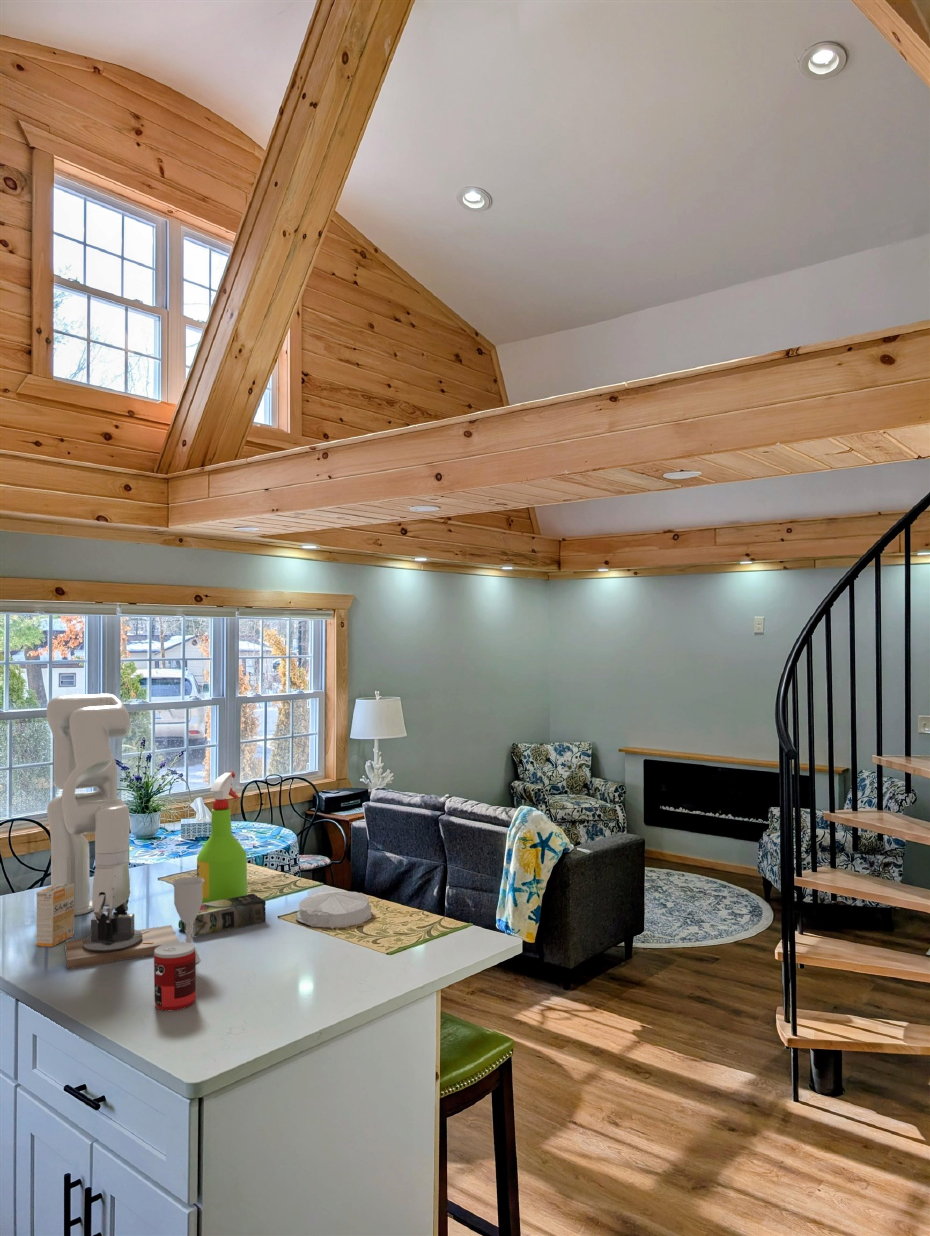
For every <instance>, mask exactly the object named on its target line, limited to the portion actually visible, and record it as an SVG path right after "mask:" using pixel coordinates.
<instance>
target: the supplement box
mask: <svg viewBox="0 0 930 1236" xmlns="http://www.w3.org/2000/svg"><path fill="white" fill-rule="evenodd" d="M74 922H75V916H74V884H70V883H58V884H56V885H54V886H51V885H50V886H48V887H46V888H44V889H41V890H37V891H36V927H35V928H36V931H35V932H36V936H35V938H36V941H35V942H36V946H37V947H48V948H49V947H50V948H51V947H52V948H53V947H55V946H56V945H58V944H60V943H62V942H63V941H65V940H66V941H67V940H68V939H70V938H72V937H74V935H75V934H74V933H75V923H74Z"/></svg>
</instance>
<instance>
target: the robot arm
mask: <svg viewBox="0 0 930 1236" xmlns="http://www.w3.org/2000/svg"><path fill="white" fill-rule="evenodd" d="M46 718H47V719H46V720H47V723H48V726H49V729H50V731H51V734H52V737H53V743H54V744H53V780H54V785H55V786H56V787H57V788H58V789H60V790H62V791H61V795H58V796H55V797H53V798H52V799H51V800H50V801H49V803H48V805H47V810H46V814H47V815H46V816H47V820H48V827H49V832H50V833H49V834H50V865H51V866H50V876H51V877H50V881H51V882H50V887H51V886H54V885H56V884H58V883H70V884H74V917H76V916H81V915H85V914H87V913H90V912H93V914H94V916H96V919H97V923H98V940H111V939H112V922H110V921H111V916H112V915H119V914H128V911H129V906H128V904H129V902H130V901H129V898H130V896H131V882H130V881H131V880H130V878H131V877H130V868H129V867H130V866H129V864H130V861H131V859H130V809H129V807H128V805H127V804H126V803H125V801H124V800H122V799H120V798H119V799H118V798H117V796H118V794H117V793H118V792H117V791H118V790H117V789H118V768H117V762H116V760H115V757H114V756H113V754H112V751H111V745H110V739H111V738H123V737H126V736H127V735H128V734H129V732H130V729H131V719H130V715H129V712H128V709H127V708H126V706H125V704H124V703H123V702H122V701H121V700H120V699H119V698H118V697H117V696H116V695H114V694H111V693H97V694H95V693H93V694H92V693H91V694H69V695H68V694H67V695H61V696H56V697H53V698H51V699H50V700H49V701H48V703H47V706H46ZM91 788H97V790H94V791H86V792H76V790H81V789H91ZM93 833H94V838H95V839H94V848H95V849H94V860H95V861H94V867H95V868H94V872H93V873H94V874H93V881H92V882H93V883H92V897H90V843H89V841H88V839H87V838H86V837H85V836H84V835H88V834H93ZM90 898H91V899H92V900H90ZM104 907H107V908H104ZM113 910H114V911H113ZM106 915H107V916H106Z"/></svg>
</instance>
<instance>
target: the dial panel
mask: <svg viewBox="0 0 930 1236" xmlns="http://www.w3.org/2000/svg"><path fill="white" fill-rule="evenodd" d="M137 930H138V931H140V932H141V933H142V941H141V942H140V943H138V944H137V945H135V946H132V947H130V948H127V949H123V950H118V951H112V952H90V951H87V950H85V949H84V948H83V941H84V939H86V938H87V937H85V938H78V939H72V940H66V941H65V959H66V970H69V969H70V970H71V969H76V968H77V969H78V968H83V967H89V966H95V965H100V964H107V963H112V962H113V963H114V962H120V961H126V960H131V959H137V958H144V957H148V956H149V955H150V956H154V950H155V949H156V948H157V947H159V946H161V945H164V944H167V943H173V942H180V941H179V939H178V936H177V935H176V932H175V929H174V928H173V925H170V924H169V925H164V926H156V927H151V928H150V927H149V928H144V929H137ZM143 956H144V957H143ZM150 956H149V957H150Z"/></svg>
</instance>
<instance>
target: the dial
mask: <svg viewBox="0 0 930 1236" xmlns="http://www.w3.org/2000/svg"><path fill="white" fill-rule="evenodd" d="M105 915H106V916H107V914H105ZM110 922H112V939H111V940H98V923H97V919H96V916H95V915H93V917H92V918H91V919H90V935H89V936H87V937H85V938H86V939H84V941H83V948H84V949H85V950H87V951H90V952H112V951H118V950H123V949H127V948H130V947H132V946H135V945H137V944H138V943H140V942H141V941H142V933H141V932H140V931H138V930H139V929H135V913H127V914H119V915H113V914H112V916H111V921H110Z"/></svg>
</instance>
